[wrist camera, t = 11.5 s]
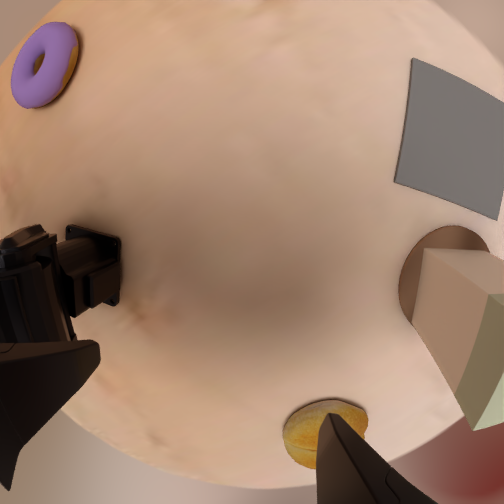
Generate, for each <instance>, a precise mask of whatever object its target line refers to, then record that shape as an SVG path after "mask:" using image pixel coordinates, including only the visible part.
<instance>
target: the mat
mask: <svg viewBox="0 0 504 504" xmlns="http://www.w3.org/2000/svg"><path fill="white" fill-rule="evenodd" d="M394 182H395V183H398V184H401V185H405V186H408V187H411V188H414V189H417V190H419V191H422V192H425V193H428V194H431V195H434V196H436V197H439V198H442V199H445V200H447V201H450V202H452V203H455V204H458V205H460V206H463V207H465V208H468V209H470V210H473V211H475V212H477V213H480V214H482V215H485V216H487V217H489V218H491V219H494V220H496V221H497V219H498V215H499V211H500V206H501V201H502V196H503V191H504V103H503V102H502V101H500V100H498V99H497V98H495V97H493V96H492V95H490V94H488V93H487V92H485V91H483V90H481V89H480V88H478V87H476V86H474V85H472V84H470V83H468V82H467V81H465V80H463V79H461V78H459V77H457V76H455V75H453V74H450V73H448V72H446V71H444V70H442V69H440V68H437V67H435V66H433V65H430V64H428V63H426V62H423V61H421V60H418V59H416V58H412V59H411V72H410V83H409V93H408V101H407V109H406V116H405V123H404V130H403V136H402V142H401V148H400V153H399V158H398V164H397V169H396V174H395V178H394Z"/></svg>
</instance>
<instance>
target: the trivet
mask: <svg viewBox="0 0 504 504" xmlns="http://www.w3.org/2000/svg"><path fill="white" fill-rule="evenodd" d="M424 248H437V249H459V250H480V251H486V252H488V253H490V251H489V249H488V247H487V245H486V243H485V242H484V241H483V239H482V238H481V237H480V236H479V235H478V234H476V233H475V232H473V231H471V230H469V229H467V228H464V227H460V226H446V227H441V228H439V229H436V230H434V231H432V232H431V233H429V234H428V235H426V236H425V237H424V238H423V239H421V240H420V241H419V242H418V243H417V245H416V246H415V247H414V248H413V250H412V251H411V253H410V254H409V256H408V258H407V260H406V261H405V264H404V266H403V269H402V272H401V276H400V281H399V300H400V305H401V308H402V310H403V312H404V314H405V316H406V318H407V319H408V321H409V322H410V323H411V322H412V317H413V313H414V308H415V303H416V297H417V292H418V286H419V280H420V274H421V267H422V260H423V252H424ZM411 324H412V323H411ZM412 325H413V324H412Z"/></svg>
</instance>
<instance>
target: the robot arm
mask: <svg viewBox="0 0 504 504" xmlns="http://www.w3.org/2000/svg"><path fill="white" fill-rule="evenodd" d="M70 229H71V231H70ZM114 241H115V242H116V245H115V244H114ZM56 242H57V235H56V234H49V233H46V231H44V229H43V228H42V226H41V225H40V224H35V225H32V226H28V227H24V228H21V229H19V230H17V231H15V232H13V233H11V234H10V235H8V236H6V237H5V238H4V239H1V240H0V484H1V485H2V486H3V487H4V488H5V489H7V490H8V491H10V489H11V484H12V479H13V475H14V470H15V466H16V462H17V458H18V455H19V452H20V450H21V449H22V448H23V446H24V445H25V444H26V443H27V442H28V441H29V440H30V439H31V438H32V437H33V436H34V435H35V434H36V433H37V432H38V431H39V430H40V429H41V428H42V427H43V426H44V425H45V424H46V423H47V422H48V420H50V418H52V416H53V415H54V414H55V413H56V412H57V411H58V410H59V409H60V408H61V407H62V406H63V405H64V404H65V403H66V402H67V401H68V400H69V399H70V398H71V397H72V396H73V395H74V394H75V393H76V392H77V391H78V390H79V389H80V388H81V387H82V386H83V385H84V383H85V382H86V381H87V380H88V378H89V377H90V376H91V374H92V373H93V372H94V371H95V369H96V368H97V367H98V365H99V364H100V360H101V357H100V347H99V344H98V343H97V342H95V341H93V340H77V336H76V334H75V333H74V329H73V326H72V322H71V318H70V316H71V317H73V318H76V317H77V316H79V315H80V314H81V313H83V312H84V311H86V310H87V309H89V308H92V309H93V308H94V307H96V306H97V305H99V304H100V303H102V302H103V303H105V304H108V305H110V306H116V305H117V304H118V303H119V290H120V248H121V241H120V239H119V238H118V237H115V236H112V235H108V234H104V233H101V232H97V231H93V230H90V229H86V228H82V227H79V226H75V225H68V226H67V227H66V241H64V242H61V243H58V244H56ZM112 299H113V300H114V302H113V300H112ZM316 480H317V504H438V503H437V502H435V501H434V500H432V499H431V498H430V497H428V496H427V495H425V494H424V493H423V492H421V491H420V490H419V489H417V488H416V487H415V486H413V485H412V484H411V483H410V482H408V481H407V480H406V479H405V478H404V477H402V476H401V475H400V474H399V473H398V472H397V471H396V470H395V469H394V468H392V467H391V466H390V465H389V464H388V463H387V462H386V461H385V460H384V459H383V458H382V457H381V456H380V455H379V454H378V453H377V452H376V451H375V450H374V449H373V448H372V447H371V446H370V445H369V444H368V443H367V442H366V441H365V440H364V439H363V438H362V437H361V436H360V435H359V434H358V433H357V432H356V431H355V430H354V429H353V428H352V427H351V426H350V425H349V424H348V423H347V422H346V421H345V420H344V419H343V418H342V417H341V416H340V415H339V414H336V413H328V414H327V415H326V417H325V419H324V420H323V422H322V424H321V426H320V428H319V433H318V444H317V455H316Z"/></svg>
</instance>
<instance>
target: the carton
mask: <svg viewBox="0 0 504 504" xmlns="http://www.w3.org/2000/svg"><path fill="white" fill-rule="evenodd" d="M411 323H412V324H413V326H414V327H415V329H416V331H417V332H418V334H419V335H420V337H421V339H422V340H423V342H424V343H425V345H426V347H427V348H428V350H429V352H430V353H431V355H432V357H433V358H434V360H435V362H436V363H437V365H438V367H439V369H440V370H441V372H442V374H443V376H444V377H445V379H446V381H447V383H448V385H449V386H450V388H451V390H452V392H453V394H454V396H455V398H456V399H457V401H458V403H459V405H460V407H461V409H462V411H463V413H464V415H465V417H466V419H467V421H468V423H469V425H470V427H471V429H472V431H475V430H479V429H482V428H486V427H489V426H493V425H496V424H499V423H502V422H504V261H503V260H502V259H500V258H498V257H496V256H494V255H492V254H490V253H488V252H486V251H480V250H459V249H437V248H424V252H423V260H422V267H421V274H420V280H419V286H418V292H417V297H416V303H415V308H414V313H413V317H412V322H411Z"/></svg>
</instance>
